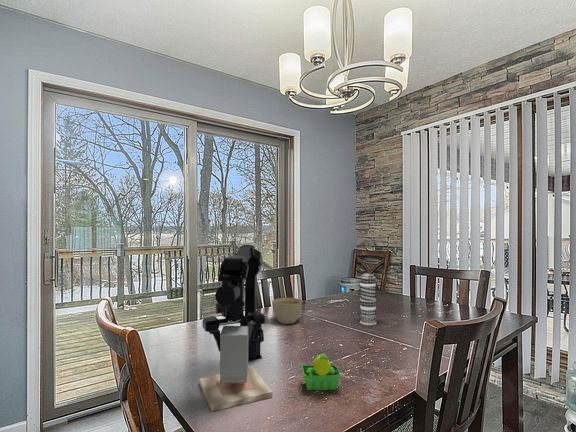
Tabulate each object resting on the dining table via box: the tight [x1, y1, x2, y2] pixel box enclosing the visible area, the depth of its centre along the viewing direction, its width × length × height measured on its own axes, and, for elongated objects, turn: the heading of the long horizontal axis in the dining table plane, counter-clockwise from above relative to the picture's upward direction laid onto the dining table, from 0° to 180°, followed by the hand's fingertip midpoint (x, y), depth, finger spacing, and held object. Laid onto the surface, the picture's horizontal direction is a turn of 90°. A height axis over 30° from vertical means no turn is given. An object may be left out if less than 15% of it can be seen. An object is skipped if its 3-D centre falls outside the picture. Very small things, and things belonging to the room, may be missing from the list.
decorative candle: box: [358, 273, 378, 326], centre depth 172 cm, size 9×9×25 cm
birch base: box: [199, 367, 273, 412], centre depth 102 cm, size 18×18×2 cm
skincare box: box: [219, 325, 249, 383], centre depth 101 cm, size 8×7×16 cm
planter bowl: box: [271, 297, 303, 325], centre depth 174 cm, size 16×16×11 cm
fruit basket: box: [301, 353, 341, 391], centre depth 104 cm, size 11×9×11 cm
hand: (234, 348), depth 103 cm, fingers closed on skincare box, 9 cm apart
